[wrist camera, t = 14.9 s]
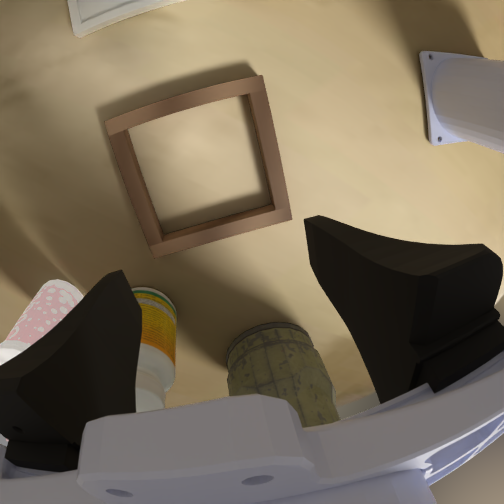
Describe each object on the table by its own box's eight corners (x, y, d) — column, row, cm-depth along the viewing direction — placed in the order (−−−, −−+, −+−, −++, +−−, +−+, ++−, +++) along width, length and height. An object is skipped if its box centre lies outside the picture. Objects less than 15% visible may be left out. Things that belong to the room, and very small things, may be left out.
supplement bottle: (174, 337, 26) (173, 430, 18) (115, 329, 25) (97, 420, 17) (180, 288, 24) (178, 386, 16) (114, 279, 23) (85, 373, 14)
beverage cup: (71, 262, 21) (0, 409, 9) (107, 319, 24) (75, 467, 12) (22, 282, 21) (-49, 409, 9) (57, 333, 24) (15, 462, 12)
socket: (258, 76, 18) (262, 74, 16) (287, 213, 22) (292, 219, 21) (109, 120, 17) (104, 121, 16) (156, 250, 22) (154, 258, 21)
